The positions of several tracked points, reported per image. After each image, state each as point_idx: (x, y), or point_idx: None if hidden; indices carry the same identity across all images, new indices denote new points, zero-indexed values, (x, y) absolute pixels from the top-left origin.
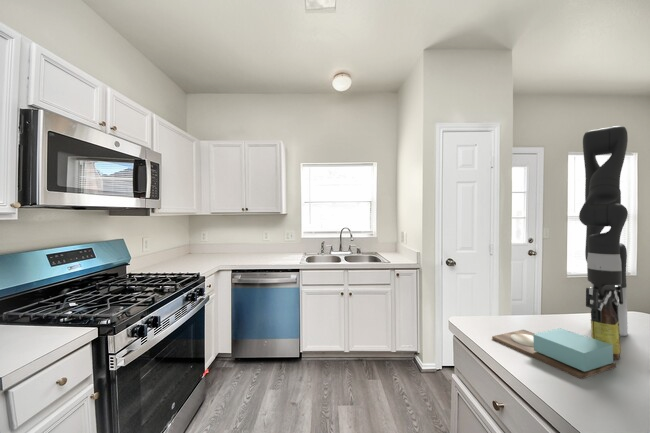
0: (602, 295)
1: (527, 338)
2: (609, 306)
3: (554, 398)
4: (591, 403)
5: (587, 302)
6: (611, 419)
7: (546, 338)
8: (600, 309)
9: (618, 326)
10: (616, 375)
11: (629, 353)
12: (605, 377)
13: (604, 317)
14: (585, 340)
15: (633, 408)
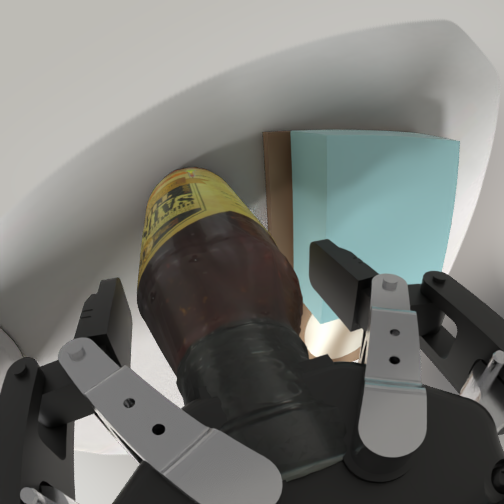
0: (425, 388)
1: (340, 331)
2: (263, 319)
3: (487, 121)
4: (464, 82)
5: (448, 334)
6: (470, 52)
7: (443, 250)
8: (387, 278)
9: (192, 207)
10: (323, 100)
11: (76, 204)
12: (362, 108)
13: (287, 262)
14: (372, 205)
15: (427, 34)
